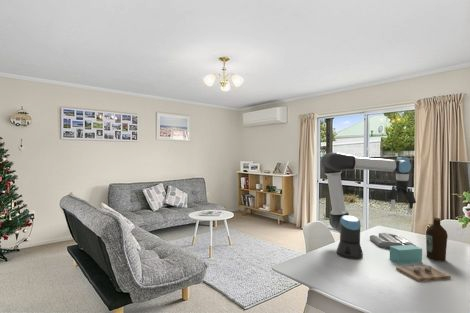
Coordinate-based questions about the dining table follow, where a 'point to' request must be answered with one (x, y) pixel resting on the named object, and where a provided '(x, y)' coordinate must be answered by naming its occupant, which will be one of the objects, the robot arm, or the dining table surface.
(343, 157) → the robot arm
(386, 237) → the emblem
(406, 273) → the seat
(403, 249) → the teal rectangular block
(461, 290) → the dining table surface
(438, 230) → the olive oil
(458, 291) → the dining table surface
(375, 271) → the dining table surface
